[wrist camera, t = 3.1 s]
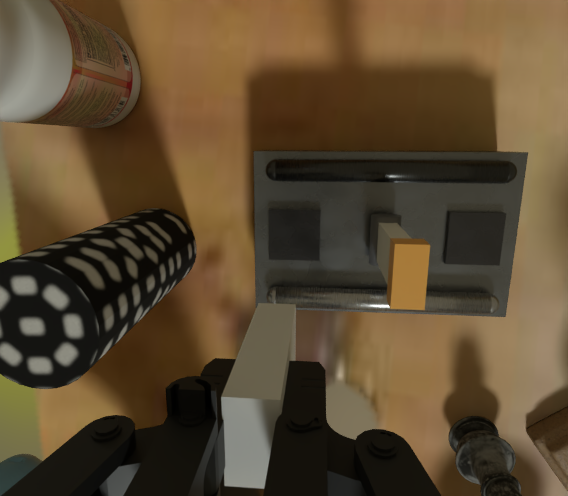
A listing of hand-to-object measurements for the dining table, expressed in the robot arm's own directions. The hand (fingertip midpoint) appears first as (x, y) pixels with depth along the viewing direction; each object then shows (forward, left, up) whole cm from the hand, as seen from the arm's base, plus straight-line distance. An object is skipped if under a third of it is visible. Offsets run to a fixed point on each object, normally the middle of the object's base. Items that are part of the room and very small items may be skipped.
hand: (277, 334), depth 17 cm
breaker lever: (+5, -5, -20) cm, 21 cm away
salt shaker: (-1, -31, -26) cm, 40 cm away
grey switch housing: (+5, -5, -26) cm, 27 cm away
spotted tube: (-14, +7, -26) cm, 31 cm away
